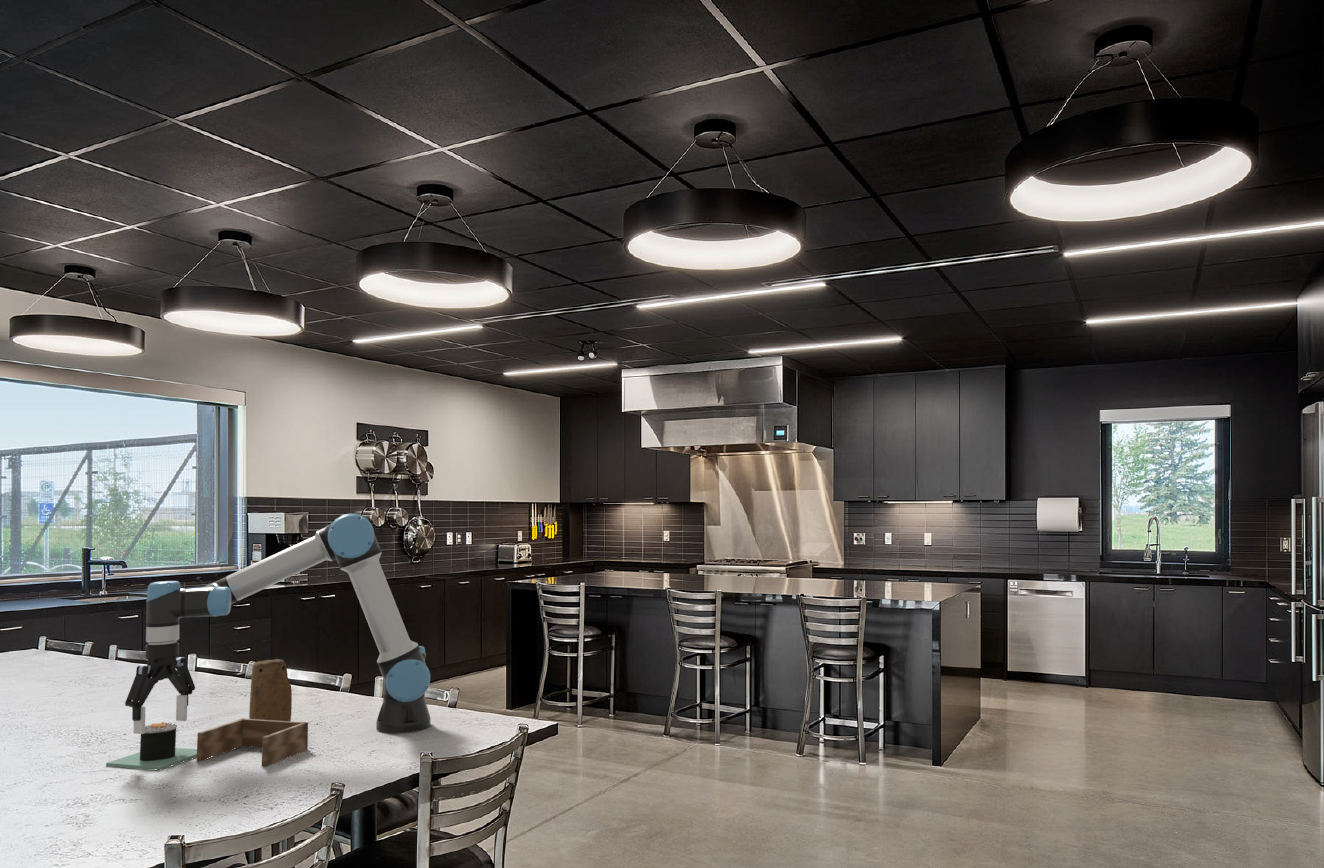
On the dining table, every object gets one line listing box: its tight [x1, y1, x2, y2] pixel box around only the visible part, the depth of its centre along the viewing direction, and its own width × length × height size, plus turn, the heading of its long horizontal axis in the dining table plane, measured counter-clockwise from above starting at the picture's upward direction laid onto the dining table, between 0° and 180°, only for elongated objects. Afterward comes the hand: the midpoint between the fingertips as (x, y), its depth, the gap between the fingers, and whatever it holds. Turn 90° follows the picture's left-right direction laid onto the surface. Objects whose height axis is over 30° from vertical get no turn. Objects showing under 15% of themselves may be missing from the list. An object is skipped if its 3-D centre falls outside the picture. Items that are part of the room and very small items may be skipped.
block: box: [248, 658, 293, 721], centre depth 260 cm, size 11×8×20 cm
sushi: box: [139, 722, 178, 761], centre depth 230 cm, size 8×8×8 cm
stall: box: [196, 718, 309, 767], centre depth 234 cm, size 16×20×7 cm
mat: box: [105, 747, 197, 771], centre depth 230 cm, size 16×16×1 cm
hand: (160, 727), depth 231 cm, fingers open, 13 cm apart
